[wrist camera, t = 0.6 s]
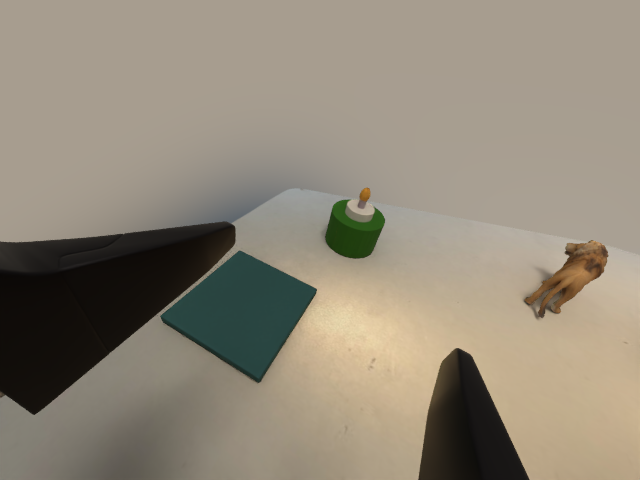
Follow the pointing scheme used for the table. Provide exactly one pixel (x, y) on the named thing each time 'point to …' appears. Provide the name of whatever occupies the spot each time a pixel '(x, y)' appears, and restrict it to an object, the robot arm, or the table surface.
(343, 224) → the candle
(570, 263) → the lion figurine
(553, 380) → the table surface
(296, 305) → the mat
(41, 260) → the robot arm
